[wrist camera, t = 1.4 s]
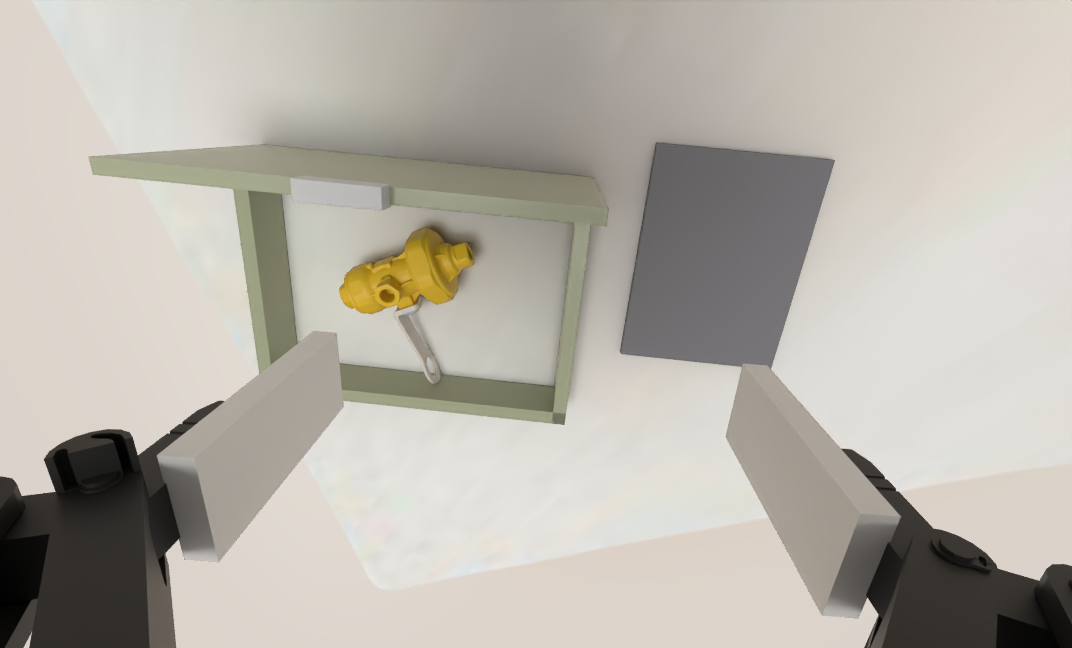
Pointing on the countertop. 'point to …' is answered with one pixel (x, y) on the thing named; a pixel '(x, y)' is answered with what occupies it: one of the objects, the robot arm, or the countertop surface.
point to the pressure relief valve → (409, 284)
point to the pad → (721, 253)
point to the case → (377, 187)
